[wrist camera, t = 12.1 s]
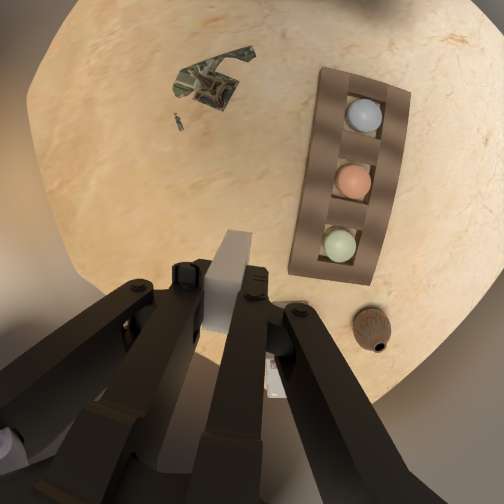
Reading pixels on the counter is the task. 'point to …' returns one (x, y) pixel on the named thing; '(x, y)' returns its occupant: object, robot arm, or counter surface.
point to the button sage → (339, 244)
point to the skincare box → (275, 368)
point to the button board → (323, 173)
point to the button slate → (363, 116)
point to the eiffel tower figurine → (209, 81)
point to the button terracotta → (353, 181)
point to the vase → (372, 330)
